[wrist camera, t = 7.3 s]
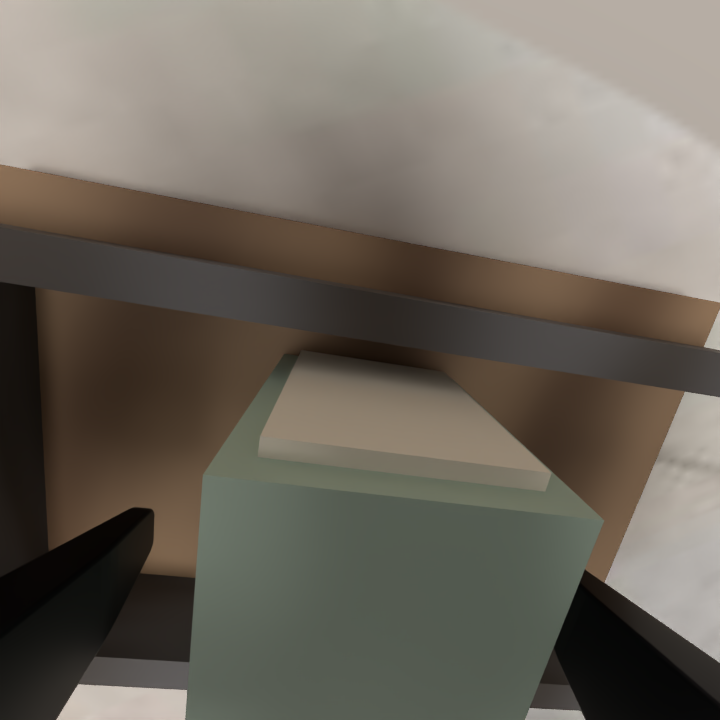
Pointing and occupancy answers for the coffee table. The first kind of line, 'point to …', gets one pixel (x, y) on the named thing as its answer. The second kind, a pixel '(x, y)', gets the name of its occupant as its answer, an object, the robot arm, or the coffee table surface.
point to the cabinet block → (378, 553)
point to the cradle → (263, 352)
